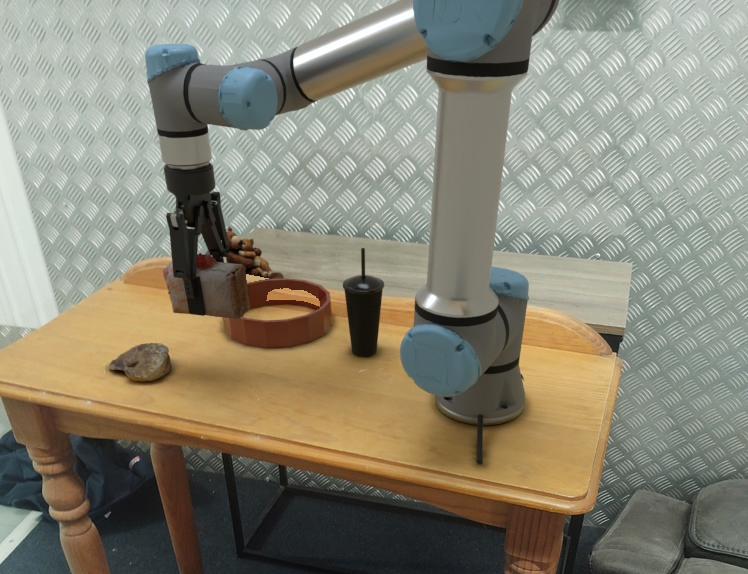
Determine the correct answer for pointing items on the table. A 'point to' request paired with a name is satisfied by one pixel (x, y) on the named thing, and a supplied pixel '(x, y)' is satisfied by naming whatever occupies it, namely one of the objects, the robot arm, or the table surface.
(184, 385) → the table surface
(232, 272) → the food item
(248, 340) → the reddish-brown round ring
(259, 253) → the bear figurine
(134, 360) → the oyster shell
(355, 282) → the drinking cup
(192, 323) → the table surface
